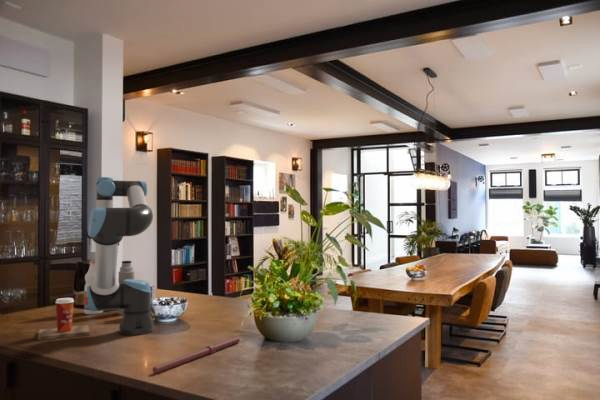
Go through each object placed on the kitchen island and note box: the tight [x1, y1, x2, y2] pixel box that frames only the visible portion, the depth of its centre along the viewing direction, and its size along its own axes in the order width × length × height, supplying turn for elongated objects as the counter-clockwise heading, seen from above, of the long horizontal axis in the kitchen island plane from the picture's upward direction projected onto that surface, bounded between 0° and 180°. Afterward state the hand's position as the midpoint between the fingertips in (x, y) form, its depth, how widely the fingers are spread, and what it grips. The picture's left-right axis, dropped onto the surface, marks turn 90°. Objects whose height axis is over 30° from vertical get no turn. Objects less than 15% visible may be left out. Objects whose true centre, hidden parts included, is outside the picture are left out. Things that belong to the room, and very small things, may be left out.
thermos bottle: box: [117, 260, 135, 316], centre depth 257 cm, size 8×8×28 cm
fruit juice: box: [83, 259, 104, 315], centre depth 258 cm, size 9×9×28 cm
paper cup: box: [54, 297, 75, 332], centre depth 213 cm, size 8×8×14 cm
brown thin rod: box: [152, 337, 240, 374], centre depth 180 cm, size 45×3×3 cm, turn 149°
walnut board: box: [37, 324, 90, 341], centre depth 213 cm, size 20×14×2 cm
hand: (104, 252), depth 233 cm, fingers open, 13 cm apart
